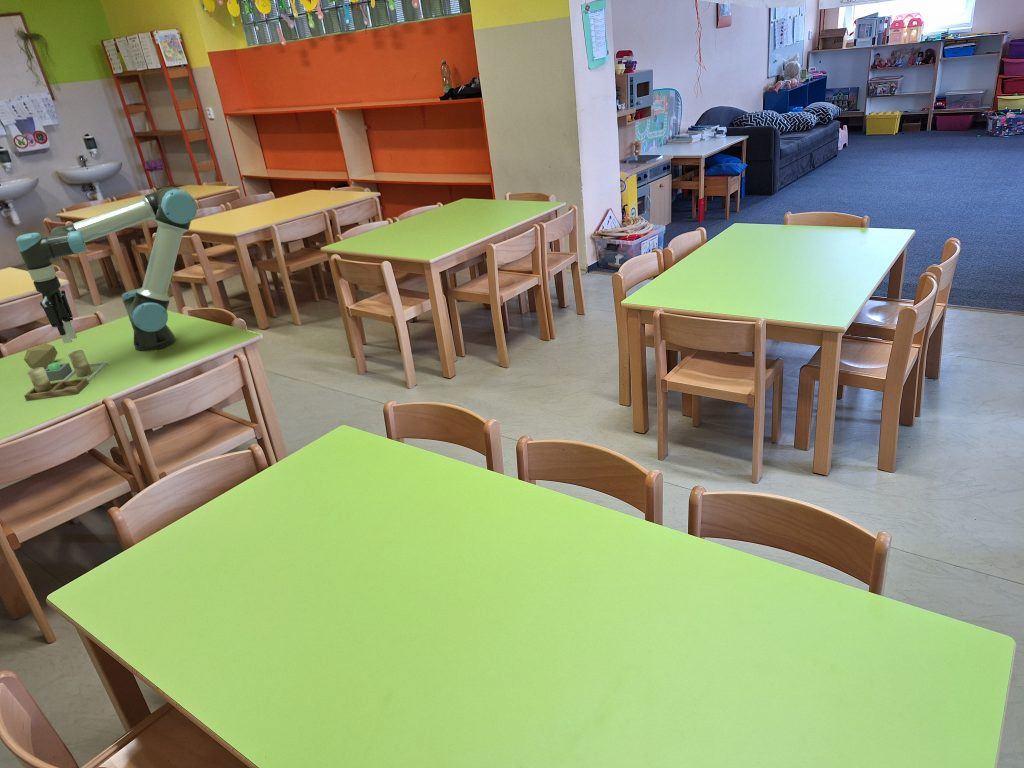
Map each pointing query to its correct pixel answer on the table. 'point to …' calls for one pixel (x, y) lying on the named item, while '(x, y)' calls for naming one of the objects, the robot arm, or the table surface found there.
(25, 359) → the low-poly potato
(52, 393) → the wooden divided tray
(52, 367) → the button
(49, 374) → the console
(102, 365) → the grey-green angled strip
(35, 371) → the billet
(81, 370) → the billet
